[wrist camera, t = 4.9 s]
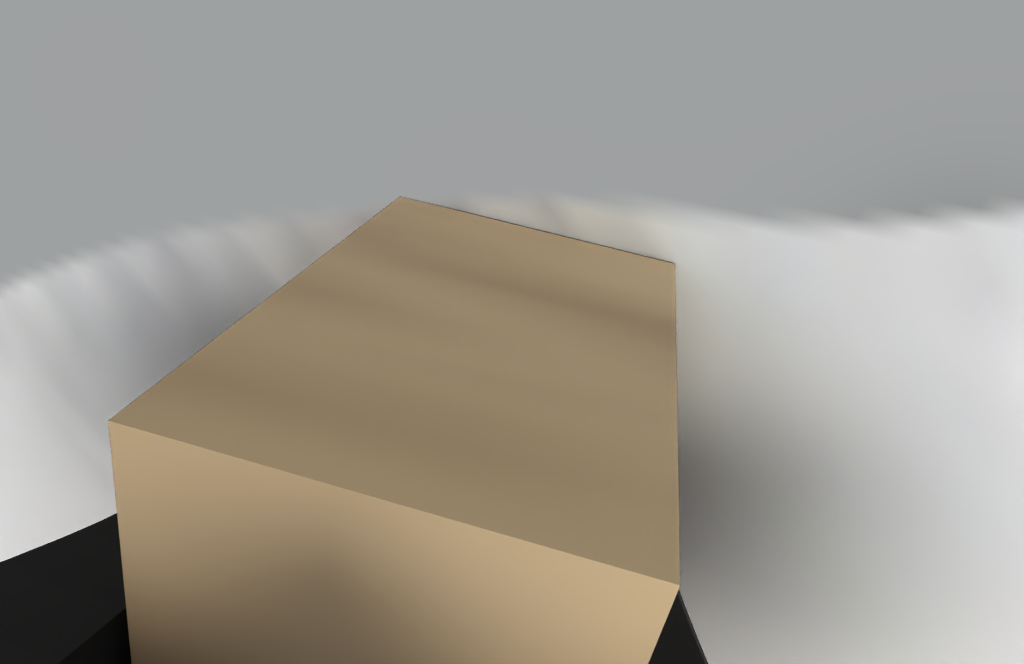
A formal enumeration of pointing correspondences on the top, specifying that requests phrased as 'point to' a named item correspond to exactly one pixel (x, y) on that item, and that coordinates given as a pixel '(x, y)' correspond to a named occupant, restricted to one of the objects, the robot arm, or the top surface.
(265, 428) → the light wood pillar
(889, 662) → the top surface
